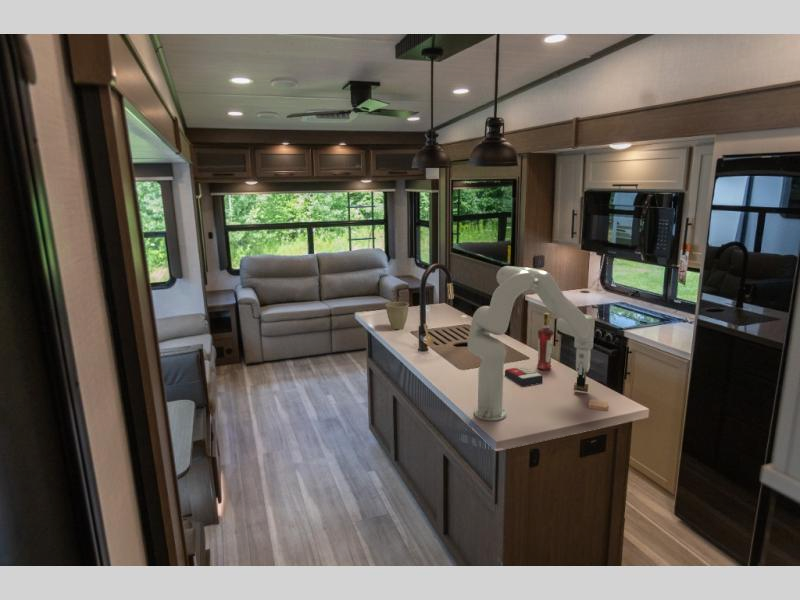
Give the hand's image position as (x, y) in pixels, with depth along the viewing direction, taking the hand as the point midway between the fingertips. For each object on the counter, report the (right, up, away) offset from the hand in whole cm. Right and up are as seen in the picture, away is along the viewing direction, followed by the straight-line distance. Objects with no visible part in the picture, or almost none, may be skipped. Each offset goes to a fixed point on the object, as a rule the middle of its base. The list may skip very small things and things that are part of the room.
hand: (581, 383), depth 218 cm
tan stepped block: (0, -3, +1) cm, 3 cm away
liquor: (-7, +2, +31) cm, 32 cm away
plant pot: (-80, +18, +106) cm, 134 cm away
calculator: (-21, -1, +18) cm, 27 cm away
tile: (+4, -6, -10) cm, 12 cm away
